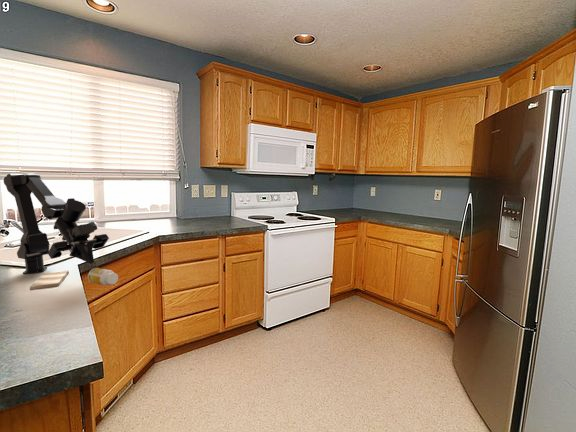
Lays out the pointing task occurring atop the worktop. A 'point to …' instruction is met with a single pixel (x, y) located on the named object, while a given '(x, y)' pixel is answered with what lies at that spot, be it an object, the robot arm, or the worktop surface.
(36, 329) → the worktop surface
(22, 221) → the robot arm
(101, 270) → the supplement bottle
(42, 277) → the beige rectangular board
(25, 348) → the worktop surface
